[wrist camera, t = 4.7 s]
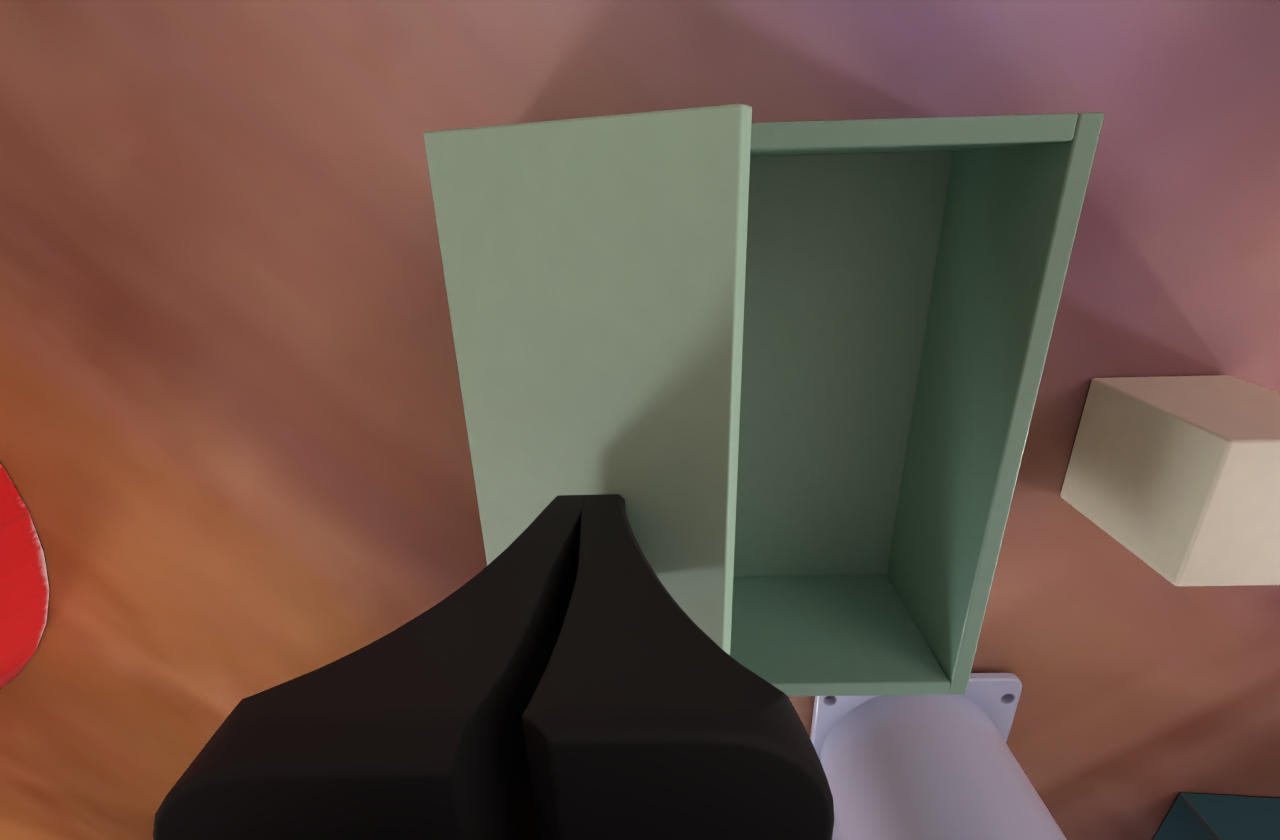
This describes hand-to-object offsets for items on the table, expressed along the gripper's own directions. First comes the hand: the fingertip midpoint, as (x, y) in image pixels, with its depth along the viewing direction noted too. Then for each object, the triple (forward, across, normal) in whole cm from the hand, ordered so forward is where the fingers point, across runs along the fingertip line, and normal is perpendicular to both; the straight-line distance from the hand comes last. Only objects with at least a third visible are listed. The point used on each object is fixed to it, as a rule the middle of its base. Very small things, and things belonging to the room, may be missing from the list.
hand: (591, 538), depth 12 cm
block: (+8, -18, +2) cm, 20 cm away
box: (+8, -4, 0) cm, 9 cm away
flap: (+1, 0, 0) cm, 1 cm away
